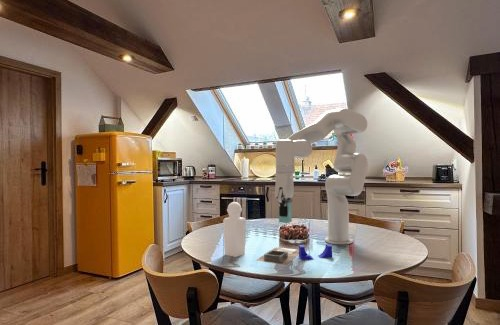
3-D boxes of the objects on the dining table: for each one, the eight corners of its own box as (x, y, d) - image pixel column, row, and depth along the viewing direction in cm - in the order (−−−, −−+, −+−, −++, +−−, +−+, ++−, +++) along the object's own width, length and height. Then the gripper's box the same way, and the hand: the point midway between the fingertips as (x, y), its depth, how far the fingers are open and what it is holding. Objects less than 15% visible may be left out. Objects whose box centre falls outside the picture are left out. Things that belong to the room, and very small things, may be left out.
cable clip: (301, 264, 117) (301, 248, 117) (298, 260, 121) (298, 245, 121) (333, 263, 118) (333, 247, 118) (329, 259, 122) (329, 244, 122)
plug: (282, 220, 132) (282, 198, 132) (292, 221, 130) (292, 199, 130) (278, 222, 128) (278, 199, 128) (288, 223, 126) (288, 200, 126)
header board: (275, 250, 135) (275, 242, 135) (303, 254, 130) (303, 245, 130) (255, 264, 117) (255, 254, 117) (286, 268, 112) (286, 258, 112)
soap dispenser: (234, 254, 130) (233, 200, 130) (246, 257, 126) (246, 201, 126) (223, 258, 125) (222, 202, 125) (235, 261, 121) (235, 203, 121)
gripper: (283, 170, 138) (283, 212, 138) (268, 170, 123) (268, 217, 123) (300, 170, 135) (300, 213, 135) (287, 170, 120) (287, 219, 120)
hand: (285, 215), depth 129 cm, fingers closed on plug, 4 cm apart
